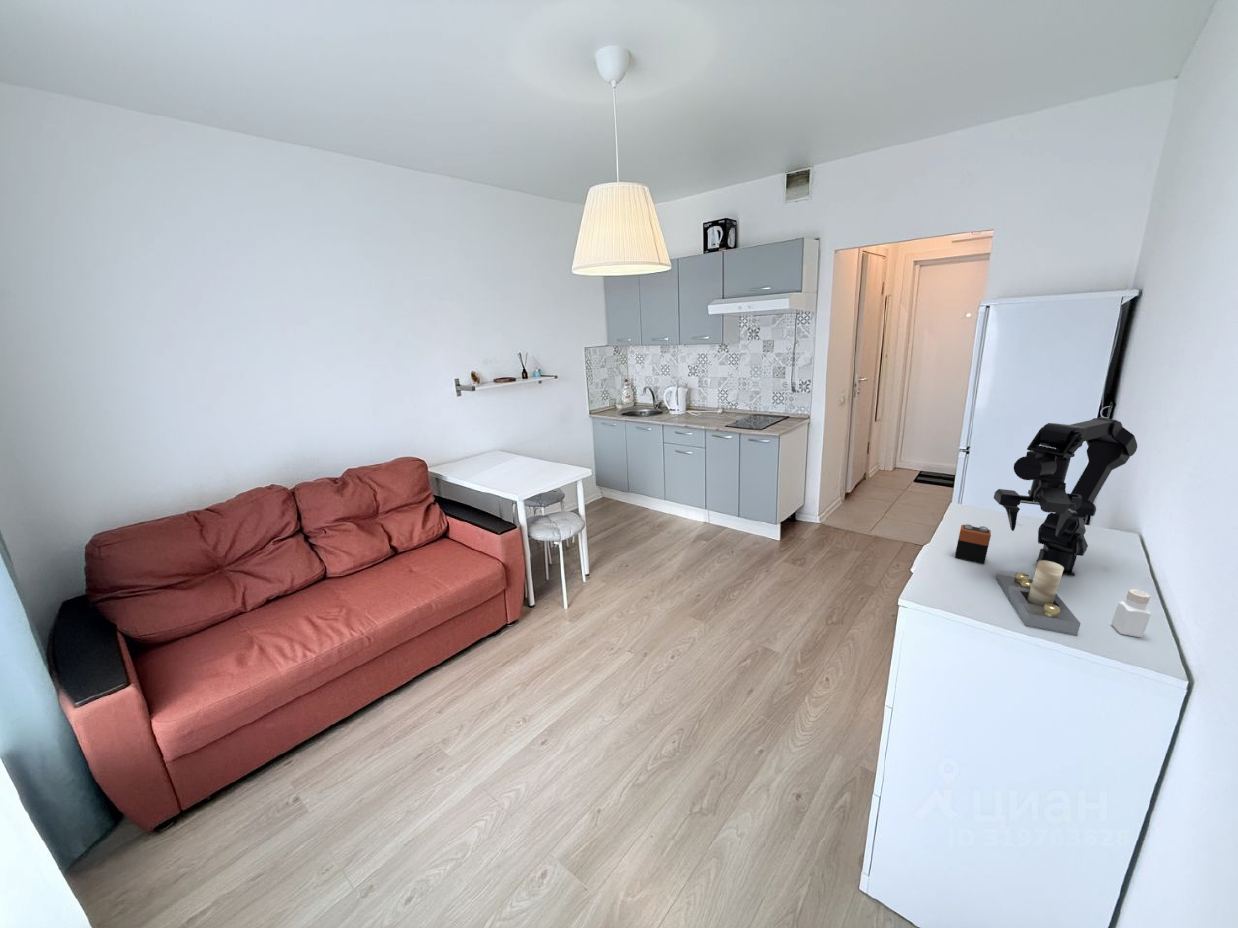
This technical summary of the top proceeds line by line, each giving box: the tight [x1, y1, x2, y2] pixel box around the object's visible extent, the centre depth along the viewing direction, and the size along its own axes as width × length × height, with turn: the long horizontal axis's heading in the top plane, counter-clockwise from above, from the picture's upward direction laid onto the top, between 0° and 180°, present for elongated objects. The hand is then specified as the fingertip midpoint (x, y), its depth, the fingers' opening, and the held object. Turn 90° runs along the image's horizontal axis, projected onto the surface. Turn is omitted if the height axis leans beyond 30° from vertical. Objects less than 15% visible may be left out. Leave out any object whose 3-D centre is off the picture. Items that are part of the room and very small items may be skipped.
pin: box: [1027, 560, 1064, 606], centre depth 110 cm, size 4×4×12 cm
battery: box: [955, 523, 992, 565], centre depth 136 cm, size 4×7×10 cm, turn 54°
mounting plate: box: [995, 571, 1081, 636], centre depth 114 cm, size 9×22×5 cm, turn 157°
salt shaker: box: [1111, 588, 1152, 638], centre depth 103 cm, size 4×4×10 cm
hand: (1034, 533), depth 123 cm, fingers open, 9 cm apart
